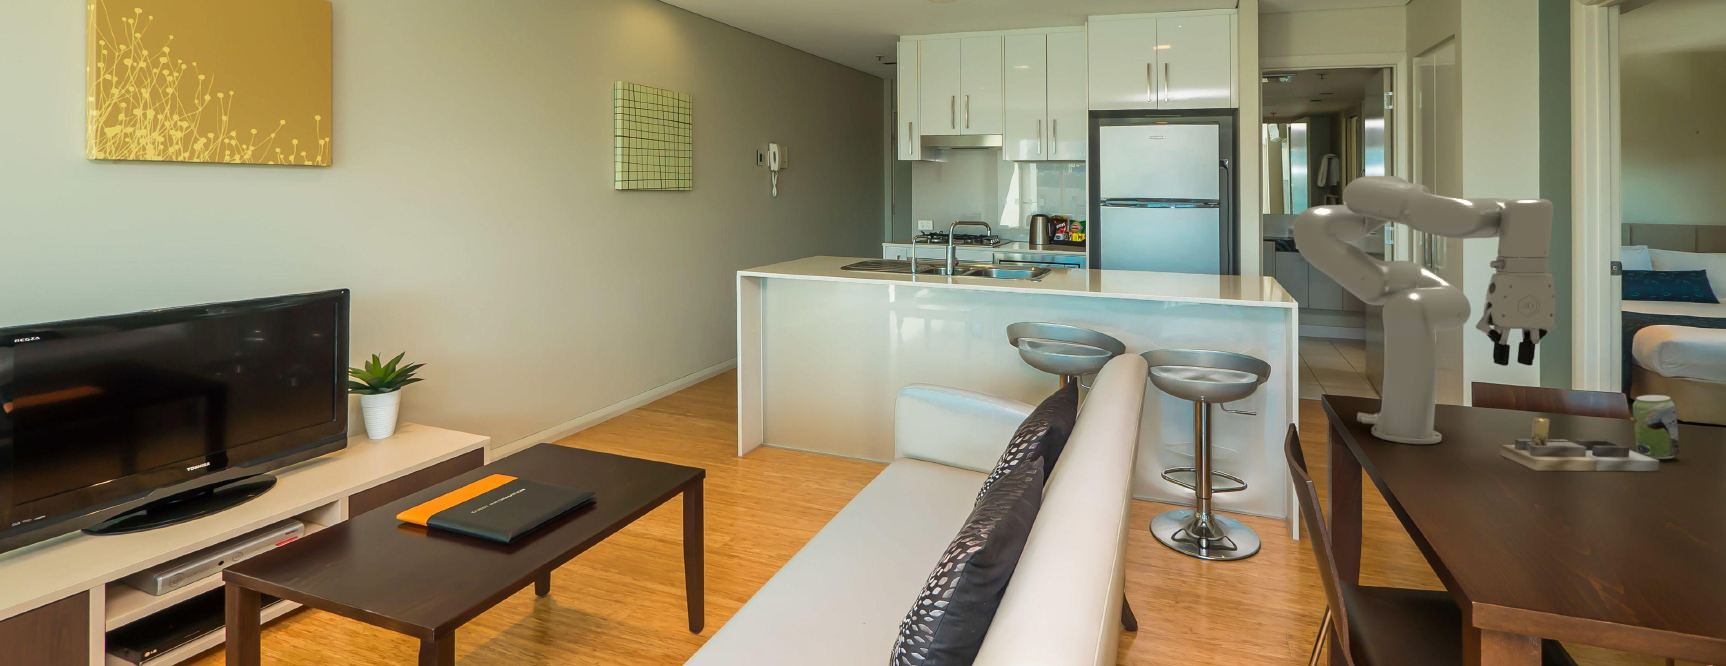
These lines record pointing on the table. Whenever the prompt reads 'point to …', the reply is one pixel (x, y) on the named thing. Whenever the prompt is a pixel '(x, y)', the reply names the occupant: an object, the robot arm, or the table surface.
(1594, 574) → the table surface
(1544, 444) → the bolt
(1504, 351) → the robot arm
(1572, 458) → the lock board
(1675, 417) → the beverage can
